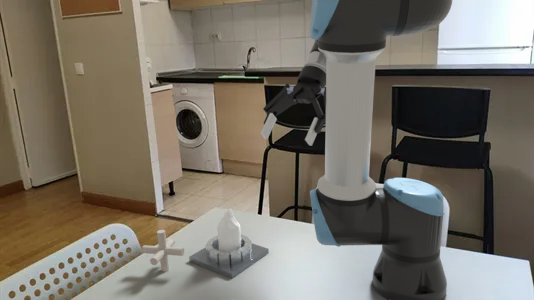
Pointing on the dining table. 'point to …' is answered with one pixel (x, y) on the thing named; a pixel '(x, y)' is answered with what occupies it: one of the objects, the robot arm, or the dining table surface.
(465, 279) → the dining table surface
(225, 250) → the white faceted pointed piece
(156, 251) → the pipe connector
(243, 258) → the collar
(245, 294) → the dining table surface
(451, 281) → the dining table surface
